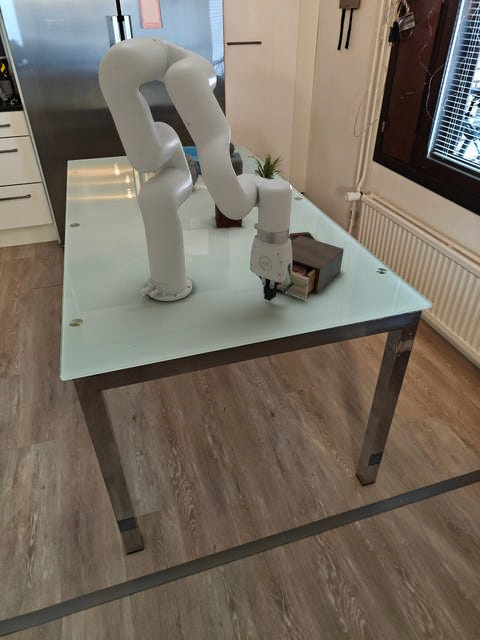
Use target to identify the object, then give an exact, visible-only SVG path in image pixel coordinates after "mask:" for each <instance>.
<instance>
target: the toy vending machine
mask: <svg viewBox="0 0 480 640" xmlns="http://www.w3.org/2000/svg"><path fill="white" fill-rule="evenodd" d="M229 152H230V159H231V163H232V167H233V169H234V172H235V174H236V176H239V175H241V174H244V172H243V171H244V163H243V159H242V155H241V154H240V152H235V145H234V143H233V142H232V141H231V140H230V145H229ZM214 218H215V219H214V220H215V225H216V226H215V227H216V228H217V229H220V228H221V229H223V228H224V229H227V228H242V227H243V218H242V219H239V220H234V219H230V218H228V217H226V216H225V215H224V214H223V213H222V212H221V211H220V210H219V208H218V207H217V205H216V204H215V203H214Z"/></svg>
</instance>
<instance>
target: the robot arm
mask: <svg viewBox="0 0 480 640" xmlns="http://www.w3.org/2000/svg"><path fill="white" fill-rule="evenodd" d="M153 81H159V82H162V83H164V86H165V91H166V92H167V94H168V96H169V98H170V100H171V102H172V104H173V105H174V108H175V109H176V112H177V114H178V115H179V117H180V118H181V120H182V122H183V124H184V126H185V128H186V129H187V131H188V133H189V135H190V137H191V139H192V141H193V143H194V145H195V146H196V147H197V154H198V160H199V164H200V168H201V173H200V174H201V176H202V179H203V182H204V185H205V187H206V189H207V191H208V194H209V195H210V197H211V198H212V200H213V202H214V205H215V204H216V205H217V207H218V208H219V210H220V211H221V212H222V213H223V214H224V215H225V216H226V217H228V218H230V219H234V220H239V219H242V220H243V219H244V218H245V217H247V216H248V215H249V214H250V213H251V212H252V210H253V209H254V208H257V209H258V210H257V222H255V223H254V225H253V228H254V229H255V230H256V232H257V233H256V234H255V235H254V237H253V240H252V245H251V248H250V249H251V250H250V257H249V270H250V272H251V273H253V274H255V275H256V276H257V277H258V278H259V280H261V281H260V282H261V285H262V286H263V299H264V300H267V301H268V302H271V300H273V299H274V298H276V297H277V294H278V293H277V285H279V284H282V285H288V284H289V283H290V277H289V276H290V275H291V273H292V246H291V241H292V239H291V238H290V235H289V234H290V227H291V226H290V225H291V213H292V200H293V199H292V198H293V187H292V184H291V183H290V182H289V181H287V180H284V179H280V178H279V179H278V178H275V179H266V178H262V177H261V176H260V175H256V174H252V173H243V174H241V175H239V176H236V174H235V172H234V169H233V167H232V163H231V159H230V152H229V145H230V141H231V126H230V123H229V121H228V119H227V117H226V115H225V113H224V112H223V110H222V107H221V105H220V104H219V101H218V100H217V98H216V96H215V94H214V90H215V88H216V86H217V81H218V80H217V72H216V69H215V67H214V66H213V64H212V63H211V62H210V61H209V60H208V58H206V57H204V56H202V55H201V54H198V53H196V52H194V51H191V50H190V49H187V48H185V47H182V46H180V45H177V44H175V43H173V42H171V41H169V40H166V39H164V38H161V37H158V36H155V35H145V36H140V37H133V38H128V39H124V40H121V41H118V42H116V43H114V44H113V45H112V46H110V47H109V48H108V49H107V50H106V51H105V52H104V54H103V56H102V58H101V60H100V63H99V67H98V83H99V87H100V90H101V93H102V96H103V98H104V100H105V103H106V105H107V107H108V110H109V112H110V114H111V116H112V120H113V121H114V125H115V128H116V131H117V133H118V136H119V139H120V141H121V144H122V147H123V149H124V152H125V155H126V157H127V160H128V162H129V164H130V165H131V168H133V169H134V170H135V171H136V172H138V173H140V174H150V173H152V172H154V173H155V174H154V175H153V176H151V177H150V178H148V179H147V180H146V181H145V182H144V183H143V184H142V185H141V186H140V189H139V191H138V195H137V203H138V208H139V211H140V214H141V218H142V222H143V227H144V231H145V240H146V246H147V256H148V264H149V273H150V274H149V275H150V278H148V279H147V283H146V286H144V287H143V288H141V289H139V290H138V294H139V296H140V297H142V298H143V297H145V296H146V295H148V296H149V297H150V298H151V299H154V300H156V301H161V302H174V301H179V300H181V299H183V298H185V297H187V296H189V295H190V294H191V292H192V290H193V283H192V280H190V279H189V278H187V275H186V272H187V271H186V258H185V244H184V243H185V242H184V230H183V223H182V221H181V219H180V216H179V208H180V207H181V206H182V205H183V203H185V202H186V201H187V200H188V198H190V196H191V194H192V192H193V189H194V186H193V181H192V177H191V173H190V170H189V167H188V163H187V160H186V157H185V154H184V151H183V148H182V147H183V145H182V141H181V140H180V137H179V135H178V134H177V132H176V131H175V130H174V128H173V127H172V126H170V125H169V124H167V123H165V122H162V121H155V119H154V118H153V115H152V112H151V108H150V106H149V104H148V102H147V99H145V97H144V95H143V94H142V93H141V91H140V87H141V86H142V85H143V84H146V83H150V82H153ZM289 238H290V239H289Z"/></svg>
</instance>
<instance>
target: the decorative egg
mask: <svg viewBox="0 0 480 640" xmlns="http://www.w3.org/2000/svg"><path fill="white" fill-rule="evenodd" d="M184 154H185V157H186V160H187V163H188V167H189V170H190V173H191V177H192V181H193V187H194V186H195V185H196V184H197V182H198V178H199V173H198V168H197V165H196V162H195V160H194V159H193V157H192V156H191V155H189V154H188V153H185V152H184Z"/></svg>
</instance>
